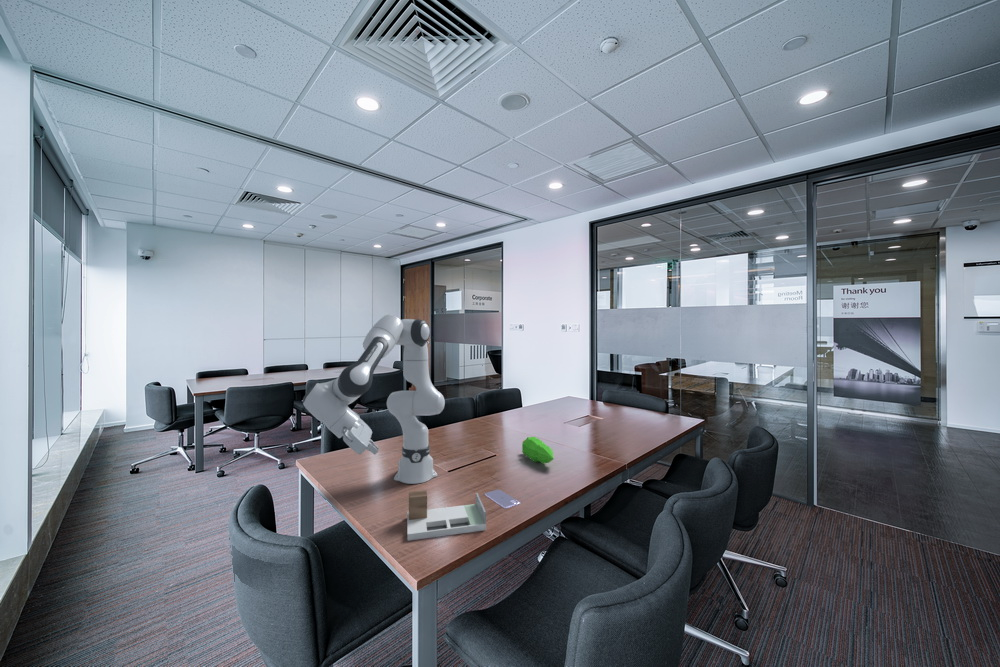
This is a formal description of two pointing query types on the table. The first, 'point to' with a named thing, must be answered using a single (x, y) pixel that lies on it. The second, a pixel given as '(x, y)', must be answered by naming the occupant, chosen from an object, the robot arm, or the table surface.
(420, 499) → the walnut block
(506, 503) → the mobile phone
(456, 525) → the track
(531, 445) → the green faceted blob
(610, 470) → the table surface
